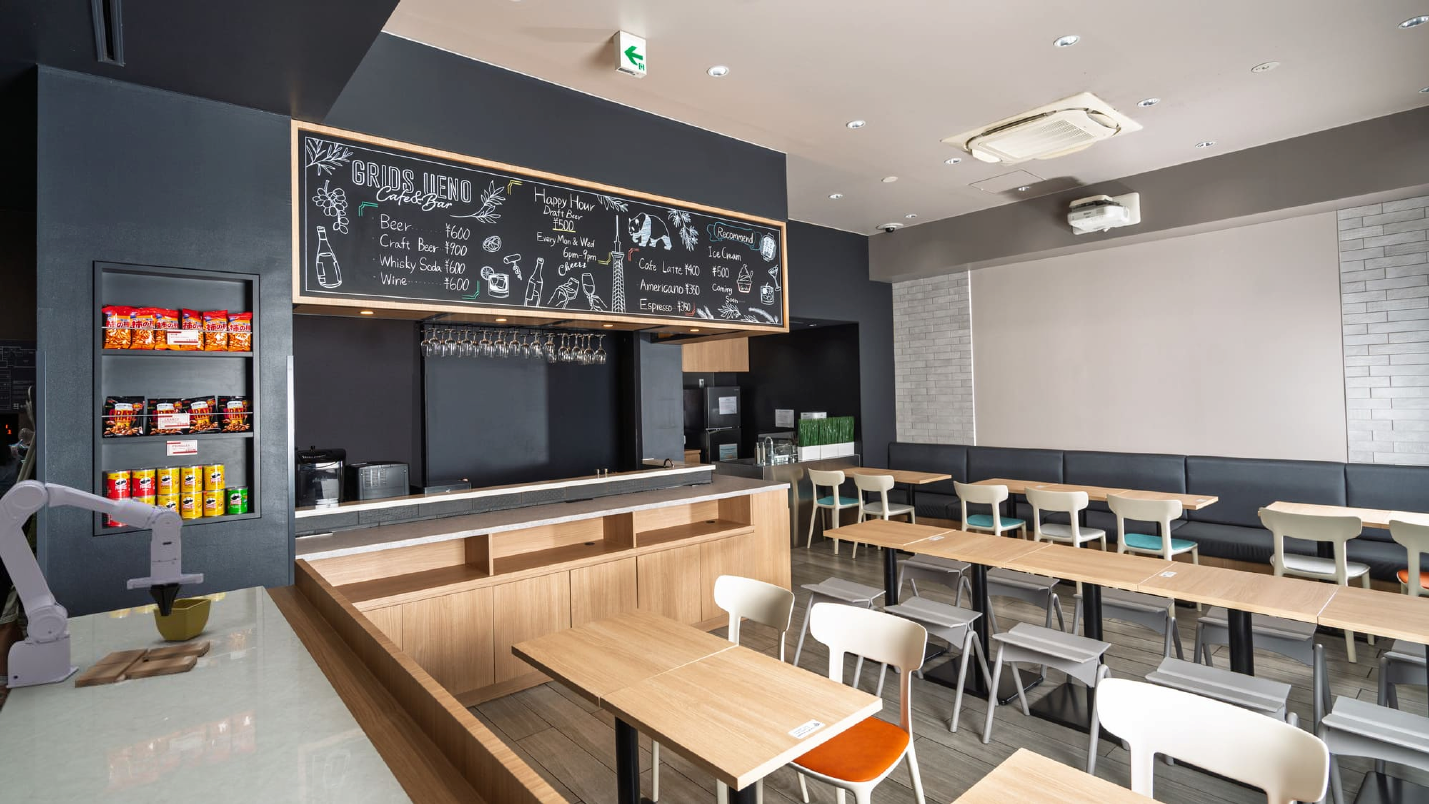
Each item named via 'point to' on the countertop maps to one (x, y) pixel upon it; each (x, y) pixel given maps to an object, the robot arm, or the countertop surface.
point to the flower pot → (183, 619)
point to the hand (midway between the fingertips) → (166, 615)
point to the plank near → (161, 667)
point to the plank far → (177, 651)
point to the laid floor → (111, 668)
